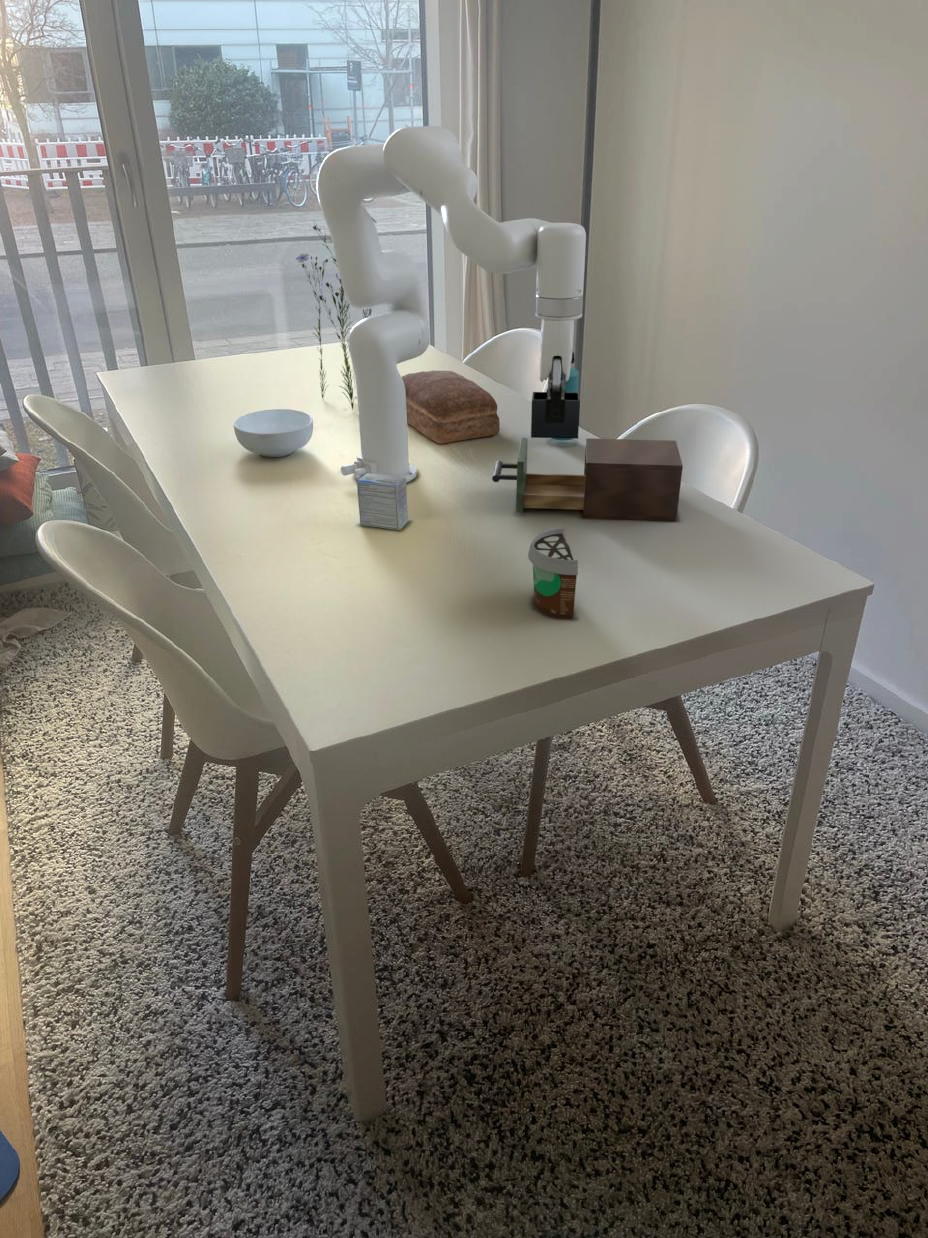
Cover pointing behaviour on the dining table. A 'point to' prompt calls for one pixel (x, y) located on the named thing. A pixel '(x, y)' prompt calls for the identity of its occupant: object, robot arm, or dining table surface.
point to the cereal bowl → (274, 431)
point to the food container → (553, 574)
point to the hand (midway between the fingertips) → (555, 416)
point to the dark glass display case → (555, 429)
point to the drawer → (542, 485)
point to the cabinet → (632, 479)
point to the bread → (449, 406)
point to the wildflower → (304, 257)
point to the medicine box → (382, 501)
